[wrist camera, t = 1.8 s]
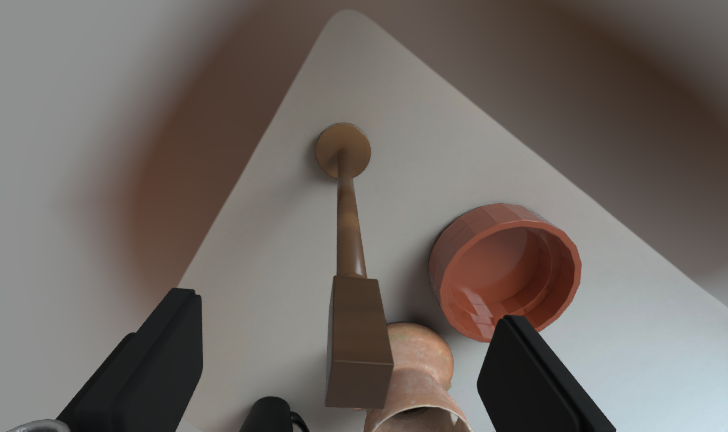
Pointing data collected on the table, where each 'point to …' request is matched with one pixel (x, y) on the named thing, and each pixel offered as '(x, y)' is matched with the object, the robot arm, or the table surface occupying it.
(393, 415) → the ceramic jug
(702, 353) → the table surface
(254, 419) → the mug
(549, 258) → the mixing bowl
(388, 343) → the wooden dowel plunger
